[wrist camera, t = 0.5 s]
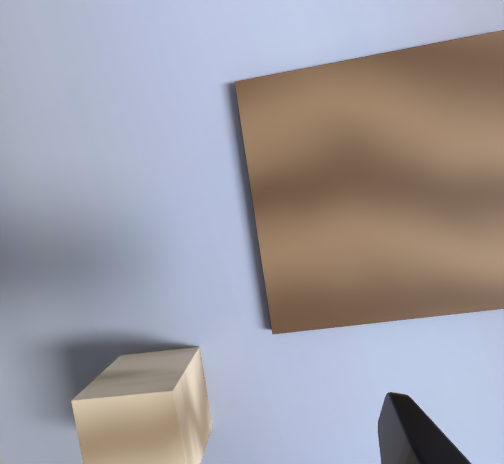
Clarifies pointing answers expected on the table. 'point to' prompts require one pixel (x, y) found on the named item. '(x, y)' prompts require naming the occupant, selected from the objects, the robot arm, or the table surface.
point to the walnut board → (380, 184)
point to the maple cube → (145, 410)
